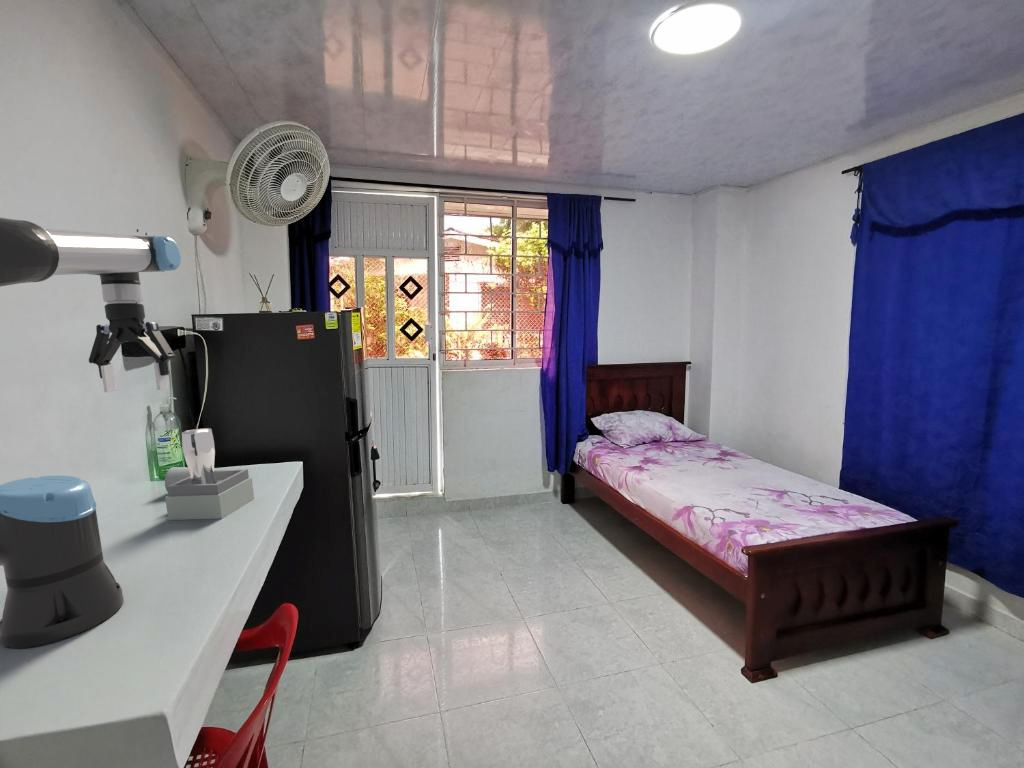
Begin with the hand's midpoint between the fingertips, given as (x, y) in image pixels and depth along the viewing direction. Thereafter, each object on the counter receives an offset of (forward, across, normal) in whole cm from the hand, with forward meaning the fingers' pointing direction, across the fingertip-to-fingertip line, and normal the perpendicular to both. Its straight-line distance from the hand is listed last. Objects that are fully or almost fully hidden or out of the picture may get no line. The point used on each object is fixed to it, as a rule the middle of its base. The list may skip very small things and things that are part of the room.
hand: (136, 390), depth 123 cm
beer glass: (+27, -10, -5) cm, 29 cm away
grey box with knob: (+33, -10, -5) cm, 35 cm away
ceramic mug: (+33, +6, -21) cm, 40 cm away
